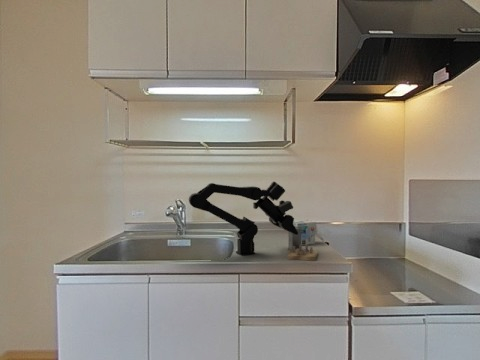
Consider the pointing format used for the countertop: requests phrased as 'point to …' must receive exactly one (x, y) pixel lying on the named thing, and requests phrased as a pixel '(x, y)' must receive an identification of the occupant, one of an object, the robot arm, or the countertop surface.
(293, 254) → the wooden peg board
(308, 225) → the light bulb box
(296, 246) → the block
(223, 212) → the robot arm
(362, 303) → the countertop surface
